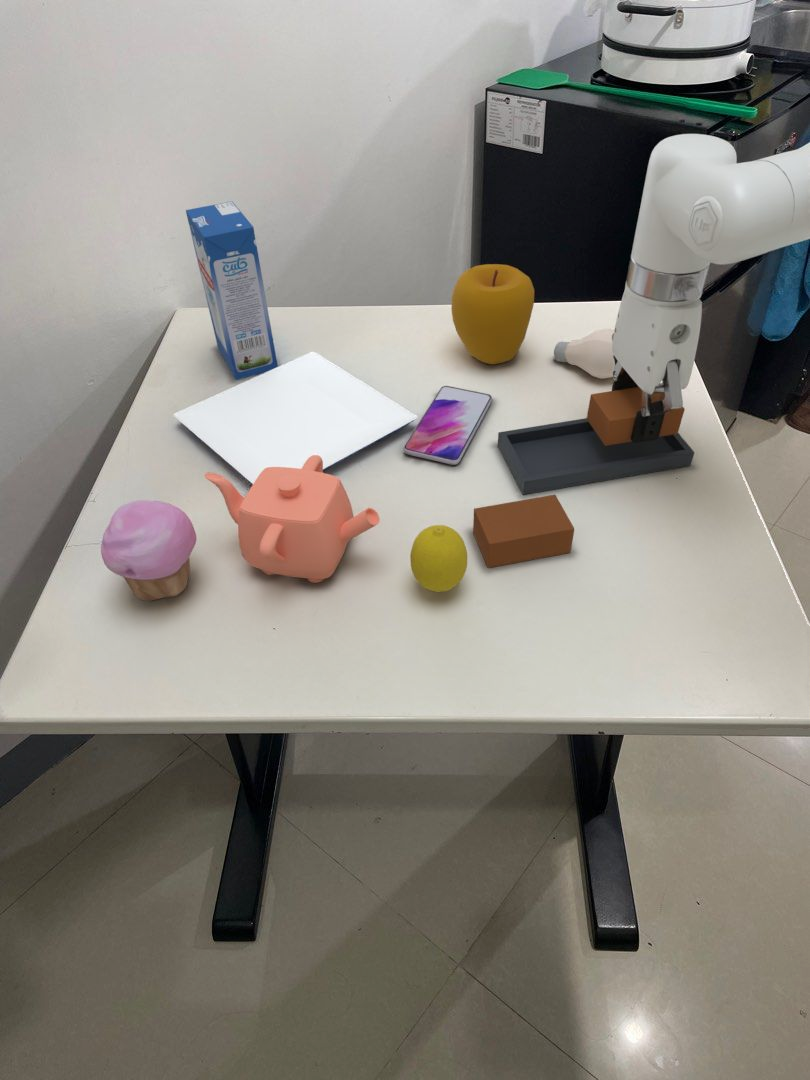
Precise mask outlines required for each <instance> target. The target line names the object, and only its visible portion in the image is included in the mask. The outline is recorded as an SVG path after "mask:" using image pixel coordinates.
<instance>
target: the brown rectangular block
mask: <svg viewBox="0 0 810 1080" xmlns="http://www.w3.org/2000/svg"><path fill="white" fill-rule="evenodd" d="M660 384H662V382H660ZM641 400H642V389H641V388H640V387H635V388H628V389H622V390H615V391H612V390H609V391H603V392H597V393H596V392H595V393H591V394H590V397H589V401H588V402H589V403H588V409H587V414H586V418H587V420H588V422H589V423H590V425H591V426H592V427H593V429H594V430H595V432H596V433H597V435H598V436H599V438H600V439H601V441H602V442H603V444H604V445H605V446H607V445H613V444H619V443H625V442H631V441H632V440H631V435H632V431H633V427H634V422H635V418H636V414H637V412H639V411H641ZM656 401H660V393H654V394H652V395H651V404H652V403H654V402H656ZM685 410H686V409H685V407H684V405H683V406H682V407H681V408H678V409H674V410H672V411H669V412H668V413H666V414H665V415H664V419H663V423H662V427H661V431H660V434H659V437H661V436H667V435H673V434H678V433H679V431H680V428H681V423H682V419H683V416H684V413H685Z"/></svg>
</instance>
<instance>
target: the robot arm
mask: <svg viewBox="0 0 810 1080" xmlns="http://www.w3.org/2000/svg"><path fill="white" fill-rule="evenodd" d="M737 157H738V156H737V151H736V149H735V147H734V146H733V145H732V144H731V143H730V142H728V141H727V140H726V139H723V138H720V137H717V136H713V135H708V134H703V133H702V134H701V133H682V134H675V135H672V136H668V137H666V138H664V139H662V140H660V141H659V142H658V143H657V144H656V145H655V146H654V148H653V149H652V151H651V153H650V156H649V160H648V164H647V170H646V174H645V180H644V185H643V190H642V195H641V202H640V208H639V212H638V217H637V222H636V227H635V232H634V237H633V243H632V249H631V254H630V259H629V264H628V270H627V275H626V280H625V285H624V292H623V294H622V297H621V301H620V304H619V309H618V312H617V317H616V320H615V326H614V329H613V330H614V333H613V335H612V342H613V343H612V351H613V354H614V355H613V358H614V360H615V368H614V370H613V377H612V379H613V380H614V381H613V382H612V387H611V391H615V390H622V389H628V388H635V387H640V388H641V389H642V400H641V411H639V412H637V414H636V418H635V422H634V427H633V431H632V435H631V440H632V441H633V443H638V442H644V441H650V440H656V439H657V438H658V437H659V434H660V431H661V427H662V423H663V419H664V415H665V414H666V413H668V412H669V411H672V410H674V409H678V408H681V407H682V406H683V407H684V401H683V394H682V390H686V389H687V387H688V386H689V383H690V379H691V377H692V372H693V368H694V363H695V360H696V354H697V349H698V344H699V339H700V333H701V326H702V314H703V312H702V311H703V302H702V300H701V298H702V295H703V291H704V288H705V285H706V280H707V277H708V272H709V269H710V265H711V264H715V265H722V266H723V265H732V264H735V263H739V262H741V261H746V260H749V259H752V258H755V257H759V256H761V255H764V254H767V253H770V252H772V251H776V250H778V249H782V248H785V247H788V246H791V245H794V244H798V243H801V242H805V241H807V240H808V241H809V240H810V141H809V142H808V143H806V144H805V145H803V146H801V147H799V148H797V149H793V150H789V151H785V152H781V153H777V154H773V155H769V156H765V157H762V158H758V159H755V160H752V161H744V162H737V161H738V160H737V159H738V158H737ZM660 383H662V384H660ZM654 393H660V401H656V402H654V403H652V404H651V395H652V394H654Z"/></svg>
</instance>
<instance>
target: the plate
mask: <svg viewBox="0 0 810 1080" xmlns="http://www.w3.org/2000/svg"><path fill="white" fill-rule="evenodd" d="M173 417H175V419H177V420H178V421H179V422H180V423H181V424H182V425H184V426H185V427H186V428H187V429H188V430H189V431H191V432H192V433H193V434H194V435H195V436H197V438H198V439H200V440H201V441H202V442H203V443H205V445H207V446H208V447H209V448H210V449H211V450H212V451H214V452H215V453H216V454H217V455H218V456H219V457H221V458H222V459H223V460H224V461H225V462H226V463H228V464H229V465H230V466H231V467H232V468H233V469H235V470H236V471H237V472H238V473H239V474H241V476H243V478H245V479H246V480H247V481H249V483H251V484H252V485H253V484H254V482H255V481H256V479H257V478H258V476H259V475H260V473H261V472H262V471H263V470H264V469H265V468H268V467H287V468H297V469H302V467H303V465H304V464H305V462H306V461H307V459H308V458H309V457H310V456H312V455H318V456H320V457H321V458H322V461H323V471H325V470H327V469H328V468H331V467H332V466H334V465H336V464H338V463H339V462H342V461H343V460H345V459H347V458H349V457H350V456H353V455H355V454H356V453H358V452H360V451H361V450H363V449H365V448H367V447H369V446H372V444H373V445H374V443H376V442H378V441H380V440H382V439H383V438H385V437H387V436H390V435H391V434H393V433H395V432H396V431H398V430H400V429H402V428H404V427H405V426H407V425H409V424H411V423H413V422H414V421H416V420H417V419H418V415H416V414H415V413H413V412H412V411H411V410H408V409H407V408H405V407H404V406H402V405H401V404H399V403H397V402H396V401H394V400H392V399H391V398H389V397H388V396H386V395H384V394H383V393H381V392H380V391H378V390H376V389H375V388H373V387H372V386H371V385H368V384H367V383H365V382H364V381H362V380H361V379H359V378H357V377H356V376H354V375H352V374H351V373H350V372H348V371H346V370H345V369H343V368H341V367H339V366H338V365H337V364H335V363H333V362H332V361H331V360H328V359H327V358H325V357H324V356H323V355H320V354H319V353H317V352H316V351H310V352H308V353H306V354H303V355H301V356H299V357H297V358H295V359H292V360H290V361H288V362H285V363H283V364H281V365H278V367H277V368H274V369H272V370H270V371H267V372H264V373H260V374H258V375H256V376H254V377H252V378H249V379H247V380H245V381H243V382H241V383H239V384H236V385H234V386H232V387H230V388H227V389H225V390H224V391H221V392H219V393H217V394H214V395H212V396H210V397H208V398H205V399H204V400H201V401H199V402H196V403H195V404H192V405H190V406H187V407H186V408H183V409H181V410H179V411H177V412H174V413H173Z"/></svg>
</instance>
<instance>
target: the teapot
mask: <svg viewBox="0 0 810 1080" xmlns="http://www.w3.org/2000/svg"><path fill="white" fill-rule="evenodd" d="M203 476H204V478H205V479H206V480H207V481H209V482H210V483H212V484H213V485H215V486H216V487H217V488H218V490H219V491H220V493H221V495H222V497H223V499H224V502H225V505H226V508H227V510H228V511H227V512H228V513H229V515H230V517H231V519H232V520H233V522H234V523H235V524H236V525H237V534H238V544H239V550H240V553H241V556H242V558H243V559H244V560H245V561H246V562H247V564H248V565H250V566H251V567H253V568H256V569H258V570H261V571H262V572H263V573H264V574H266V575H270V576H271V575H280V576H285V577H293V578H301V579H302V578H303V579H306V580H307V581H309V582H310V583H313V584H317V583H320V582H322V581H324V580H325V579H328V578H330V577H331V576H332V575H333V574H334V573H335V571H336V569H337V567H338V565H339V563H340V561H341V560H342V557H343V555H344V553H345V551H346V548H347V546H348V544H349V541H350V540H351V541H352V540H353V539H354V538H356V537H358V536H360V535H361V534H363V533H366V532H367V531H368V530H370V529H372V528H374V527H376V526H378V525H379V524H380V515H379V513H378V512H377V511H376V509H374V508H373V507H368V508H366V509H364V510H362V511H361V512H359V513H357V514H356V515H354V512H353V507H352V504H351V501H350V498H349V495H348V493H347V491H346V488H345V487H344V484H343V483H342V480H341V479H340V478H339V477H337V476H335V475H333V474H330V473H326V472H324V470H323V461H322V458H321V457H320V456H318V455H312V456H310V457H309V458H308V459H307V461H306V462H305V464H304V465H303V467H302V469H297V468H287V467H268V468H265V469H264V470H263V471H262V472H261V473H260V475H259V476H258V478H257V479H256V481H255V482H254V484H252V486H251V487H250V489H249V490H248V491H247V494H246V495H245V497H244V496H243V495H242V494H241V493H240V492H239V491H238V489H237V488H236V487H235V486H234V485H233V483H232V482H231V481H230V480H229V479H228V478H226V477H225V476H223V475H221V474H218V473H215V472H205V473H204V475H203Z"/></svg>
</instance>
